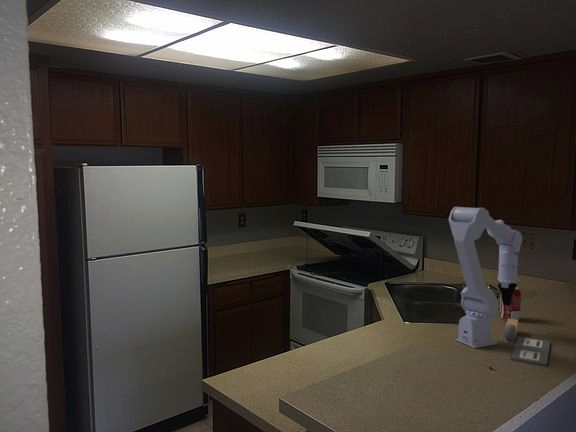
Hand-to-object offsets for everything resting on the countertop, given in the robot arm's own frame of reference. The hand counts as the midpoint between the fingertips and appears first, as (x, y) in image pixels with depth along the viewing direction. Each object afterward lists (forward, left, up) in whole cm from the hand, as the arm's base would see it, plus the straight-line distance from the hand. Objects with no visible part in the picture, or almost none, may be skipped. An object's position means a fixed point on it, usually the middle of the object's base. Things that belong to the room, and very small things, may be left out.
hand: (506, 305), depth 160 cm
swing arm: (-2, -4, -9) cm, 10 cm away
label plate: (-8, -15, -9) cm, 20 cm away
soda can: (+14, +11, -10) cm, 20 cm away
